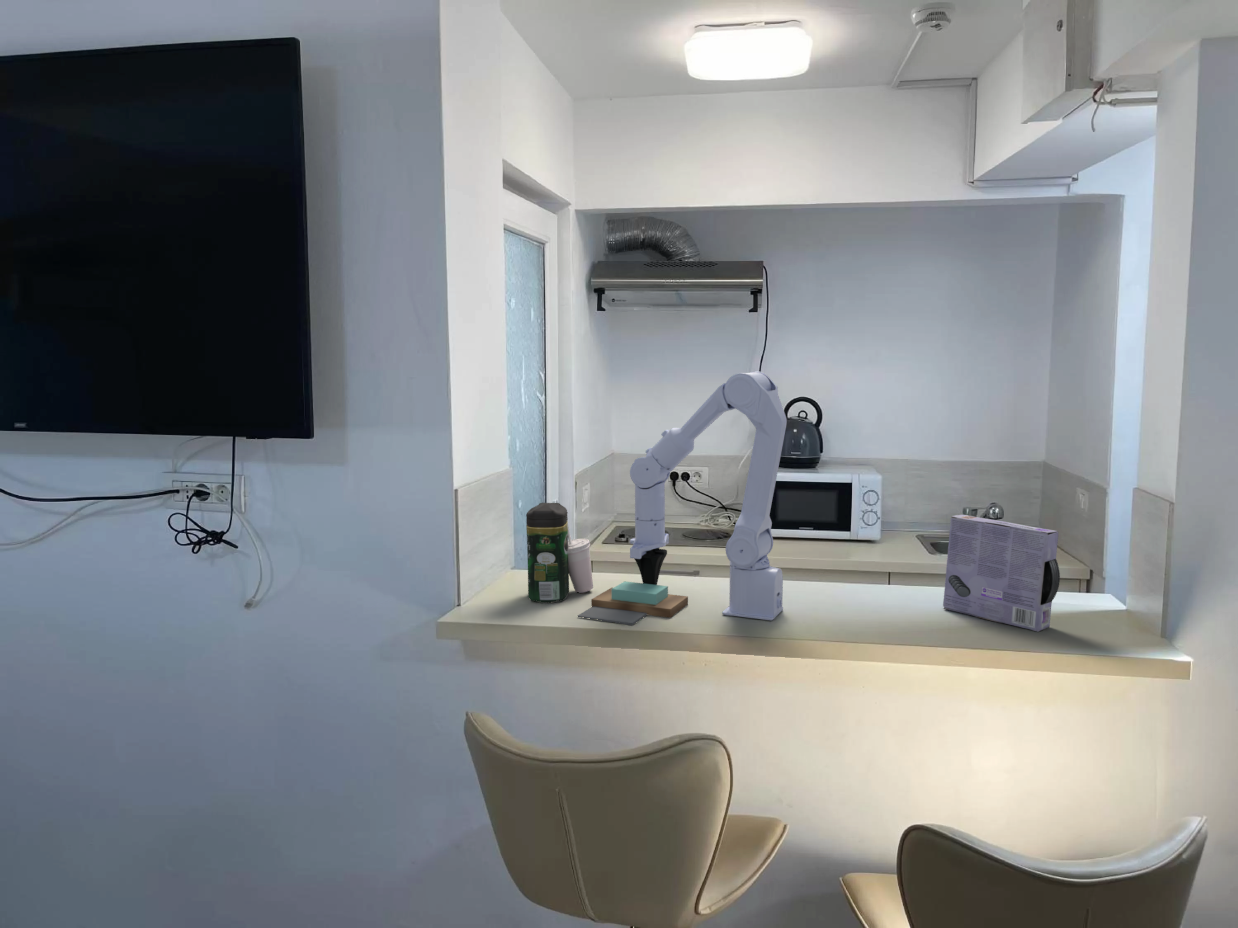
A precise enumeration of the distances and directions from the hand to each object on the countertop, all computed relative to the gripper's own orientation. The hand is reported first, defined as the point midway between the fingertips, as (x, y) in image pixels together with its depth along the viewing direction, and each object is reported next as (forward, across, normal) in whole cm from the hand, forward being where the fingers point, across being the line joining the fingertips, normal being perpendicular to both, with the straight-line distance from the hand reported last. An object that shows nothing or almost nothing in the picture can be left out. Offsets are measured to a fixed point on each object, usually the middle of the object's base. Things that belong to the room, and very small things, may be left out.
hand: (650, 587), depth 179 cm
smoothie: (+2, 0, -14) cm, 14 cm away
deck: (+2, +5, 0) cm, 6 cm away
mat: (+2, +13, -2) cm, 13 cm away
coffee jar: (+3, +6, -19) cm, 20 cm away
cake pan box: (+3, -14, +62) cm, 63 cm away
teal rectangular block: (+1, +5, 0) cm, 5 cm away
